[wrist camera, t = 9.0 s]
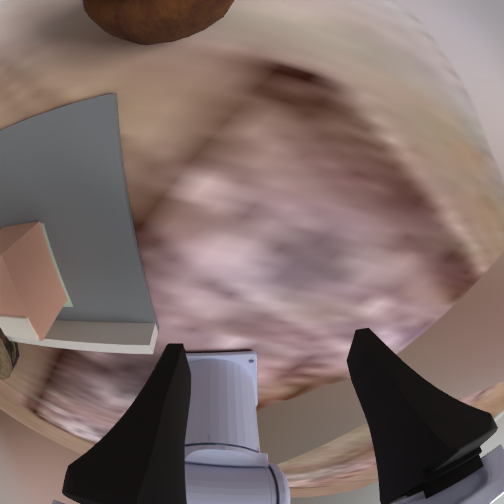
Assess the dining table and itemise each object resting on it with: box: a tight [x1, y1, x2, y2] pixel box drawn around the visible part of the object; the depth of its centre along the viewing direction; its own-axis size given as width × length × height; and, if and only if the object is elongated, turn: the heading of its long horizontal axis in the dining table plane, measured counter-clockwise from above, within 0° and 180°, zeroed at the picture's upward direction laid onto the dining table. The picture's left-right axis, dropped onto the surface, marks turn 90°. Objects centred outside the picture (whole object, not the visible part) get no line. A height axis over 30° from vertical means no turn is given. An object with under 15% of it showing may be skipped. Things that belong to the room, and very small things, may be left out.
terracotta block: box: [0, 221, 67, 341], centre depth 16 cm, size 4×7×5 cm, turn 1°
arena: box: [0, 93, 159, 354], centre depth 17 cm, size 18×16×3 cm
